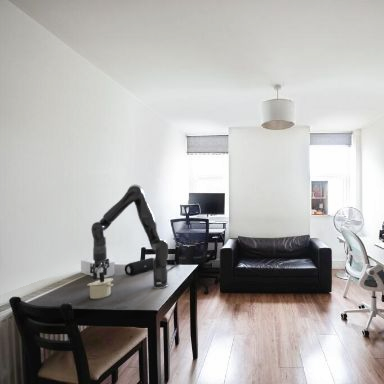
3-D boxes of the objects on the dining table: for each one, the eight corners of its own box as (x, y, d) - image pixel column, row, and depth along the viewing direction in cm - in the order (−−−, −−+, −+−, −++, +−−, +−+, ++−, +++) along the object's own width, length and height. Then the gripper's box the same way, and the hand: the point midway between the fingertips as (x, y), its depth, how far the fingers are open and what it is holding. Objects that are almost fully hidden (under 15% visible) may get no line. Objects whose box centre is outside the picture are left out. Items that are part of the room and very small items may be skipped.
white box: (81, 272, 225) (80, 260, 225) (94, 269, 234) (94, 257, 234) (101, 278, 208) (100, 265, 208) (114, 275, 217) (114, 261, 217)
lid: (102, 280, 179) (101, 269, 179) (117, 279, 176) (116, 269, 176) (86, 286, 167) (85, 275, 167) (102, 286, 164) (101, 275, 164)
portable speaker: (131, 277, 210) (131, 264, 210) (123, 275, 215) (123, 263, 215) (158, 269, 232) (158, 257, 232) (151, 267, 237) (150, 256, 237)
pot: (95, 292, 178) (95, 279, 178) (118, 293, 176) (117, 280, 176) (81, 298, 167) (81, 285, 167) (106, 300, 165) (105, 286, 165)
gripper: (97, 254, 164) (97, 280, 164) (112, 249, 178) (112, 273, 178) (86, 254, 165) (86, 280, 165) (102, 249, 179) (102, 273, 179)
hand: (100, 277), depth 172 cm, fingers open, 8 cm apart
